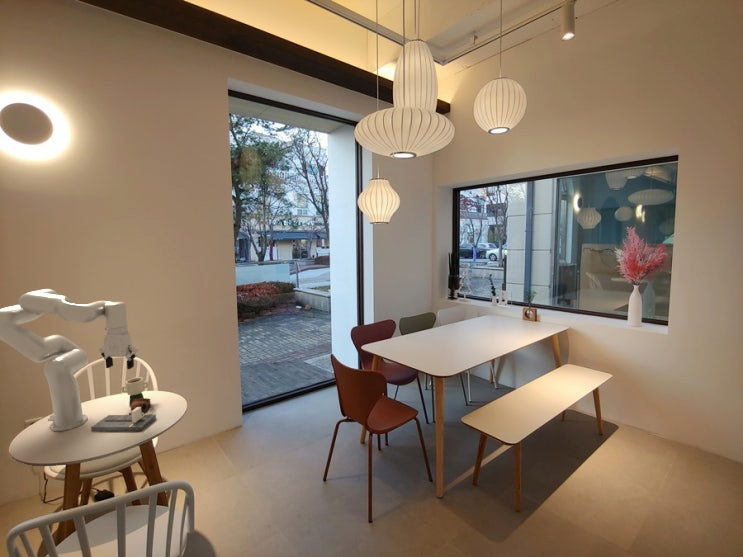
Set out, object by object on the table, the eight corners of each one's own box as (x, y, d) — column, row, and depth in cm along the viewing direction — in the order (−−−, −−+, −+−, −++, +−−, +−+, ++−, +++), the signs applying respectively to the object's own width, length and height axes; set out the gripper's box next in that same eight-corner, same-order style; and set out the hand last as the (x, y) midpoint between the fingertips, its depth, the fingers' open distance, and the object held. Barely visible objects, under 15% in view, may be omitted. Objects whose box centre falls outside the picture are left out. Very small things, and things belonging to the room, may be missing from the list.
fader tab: (132, 422, 154) (130, 411, 154) (138, 417, 158) (137, 406, 158) (135, 422, 154) (134, 411, 154) (142, 417, 158) (140, 406, 158)
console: (91, 431, 152) (90, 426, 152) (109, 419, 162) (108, 414, 162) (141, 431, 152) (140, 426, 151) (156, 418, 161) (155, 414, 161)
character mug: (150, 399, 181) (147, 375, 179) (150, 405, 175) (147, 380, 173) (124, 405, 175) (121, 380, 173) (123, 411, 169) (120, 385, 167)
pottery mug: (122, 418, 163) (125, 400, 166) (141, 418, 171) (144, 400, 175) (140, 416, 159) (143, 396, 163) (159, 415, 168) (161, 397, 171)
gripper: (91, 331, 152) (94, 370, 154) (130, 333, 151) (132, 371, 153) (105, 327, 159) (108, 363, 161) (142, 328, 158) (144, 365, 160)
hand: (120, 367), depth 157 cm, fingers open, 9 cm apart
